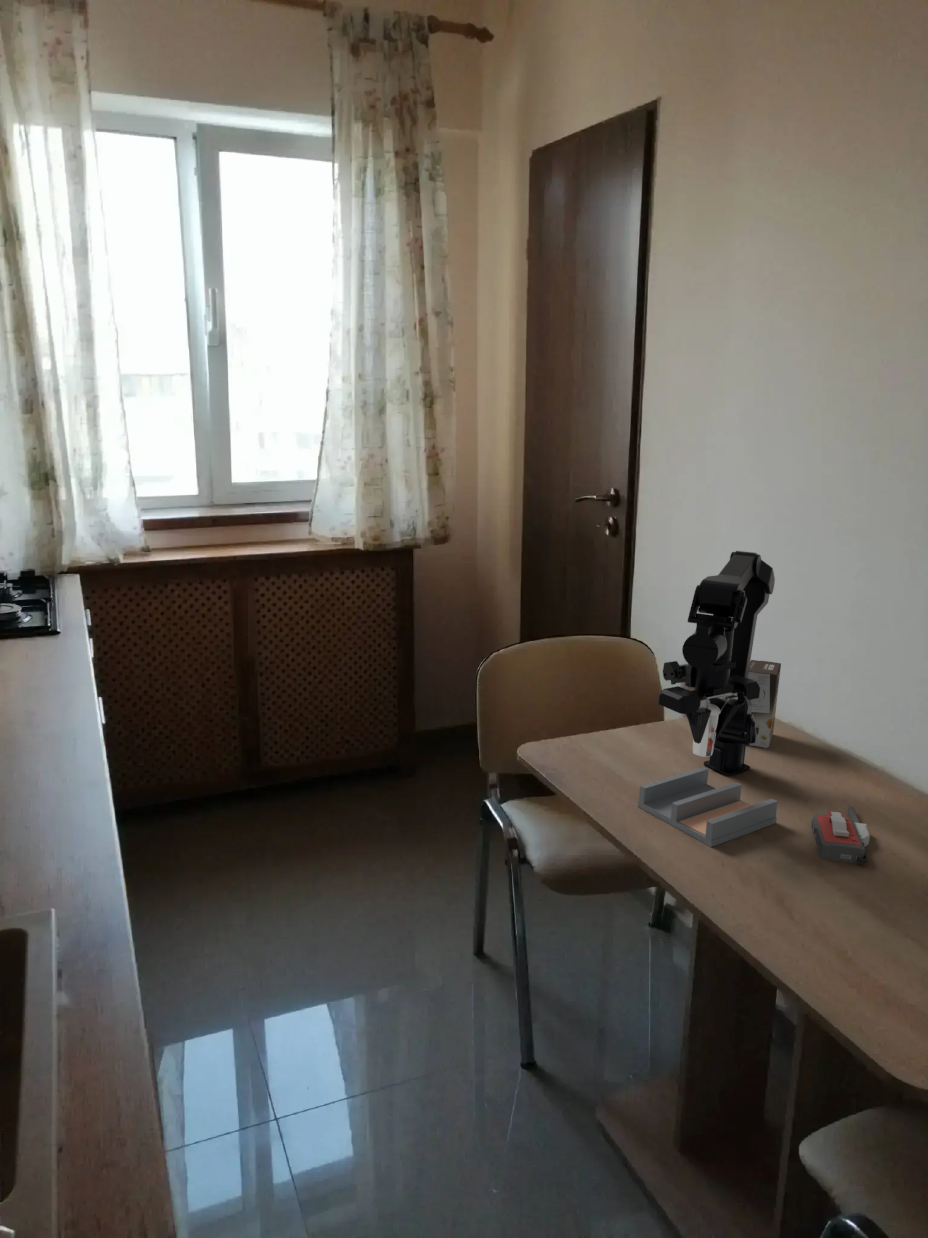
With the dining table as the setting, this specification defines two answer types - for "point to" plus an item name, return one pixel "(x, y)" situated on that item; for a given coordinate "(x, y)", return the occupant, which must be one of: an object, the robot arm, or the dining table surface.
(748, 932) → the dining table surface
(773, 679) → the coffee box
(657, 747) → the dining table surface
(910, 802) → the dining table surface
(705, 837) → the grey slotted tray
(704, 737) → the milkshake
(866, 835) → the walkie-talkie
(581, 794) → the dining table surface
